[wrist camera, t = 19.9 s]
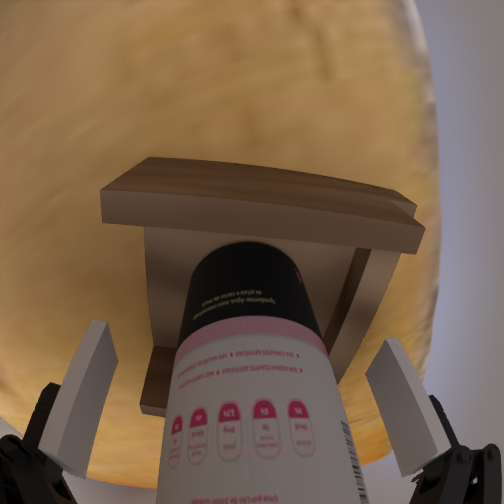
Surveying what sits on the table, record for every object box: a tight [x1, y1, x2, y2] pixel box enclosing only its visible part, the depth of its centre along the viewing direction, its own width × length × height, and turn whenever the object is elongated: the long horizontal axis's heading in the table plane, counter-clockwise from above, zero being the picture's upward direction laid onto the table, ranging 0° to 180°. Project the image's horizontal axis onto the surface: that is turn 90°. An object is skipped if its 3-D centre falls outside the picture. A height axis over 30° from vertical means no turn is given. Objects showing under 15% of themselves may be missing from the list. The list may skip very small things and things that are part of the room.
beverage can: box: [156, 242, 370, 504], centre depth 10 cm, size 6×6×15 cm
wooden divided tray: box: [100, 157, 425, 417], centre depth 18 cm, size 27×14×6 cm, turn 172°
